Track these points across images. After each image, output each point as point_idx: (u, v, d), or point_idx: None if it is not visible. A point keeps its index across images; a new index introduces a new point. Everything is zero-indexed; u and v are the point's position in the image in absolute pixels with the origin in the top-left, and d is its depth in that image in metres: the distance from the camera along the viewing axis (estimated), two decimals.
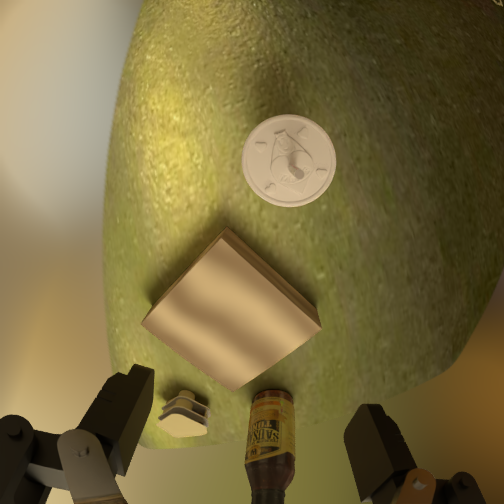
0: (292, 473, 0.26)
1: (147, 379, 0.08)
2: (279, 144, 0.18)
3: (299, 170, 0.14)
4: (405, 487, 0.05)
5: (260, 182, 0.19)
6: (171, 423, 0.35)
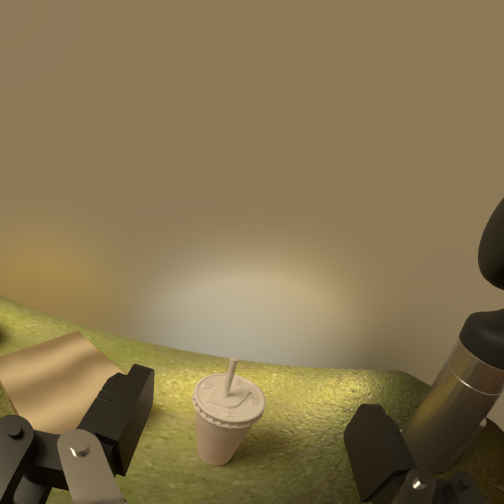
0: None
1: (147, 379, 0.08)
2: (240, 388, 0.24)
3: (237, 358, 0.21)
4: (405, 487, 0.05)
5: (209, 381, 0.24)
6: None
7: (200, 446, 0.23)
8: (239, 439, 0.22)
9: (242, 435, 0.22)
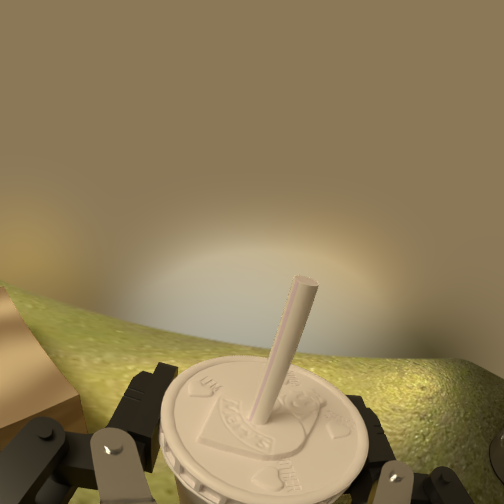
0: None
1: (173, 376, 0.09)
2: (297, 395, 0.08)
3: (314, 280, 0.06)
4: (382, 481, 0.06)
5: (210, 375, 0.09)
6: None
7: None
8: None
9: None
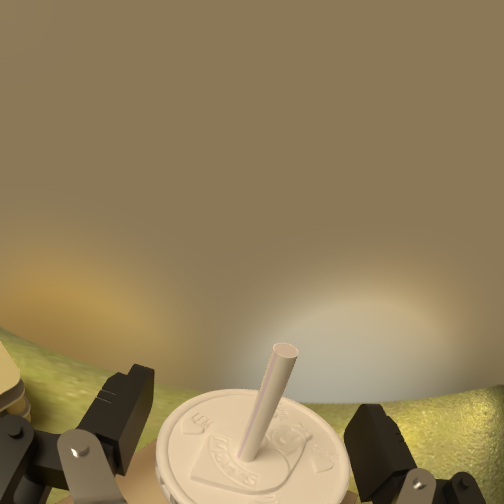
0: None
1: (147, 379, 0.08)
2: (284, 430, 0.08)
3: (294, 348, 0.06)
4: (405, 487, 0.05)
5: (202, 412, 0.09)
6: None
7: None
8: None
9: None
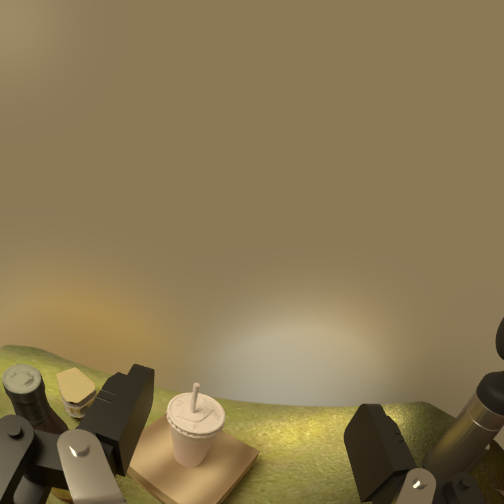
0: None
1: (147, 379, 0.08)
2: (205, 406, 0.28)
3: (198, 384, 0.26)
4: (405, 487, 0.05)
5: (181, 399, 0.29)
6: (79, 379, 0.35)
7: (175, 450, 0.28)
8: (205, 446, 0.26)
9: (207, 443, 0.26)
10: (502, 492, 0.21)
